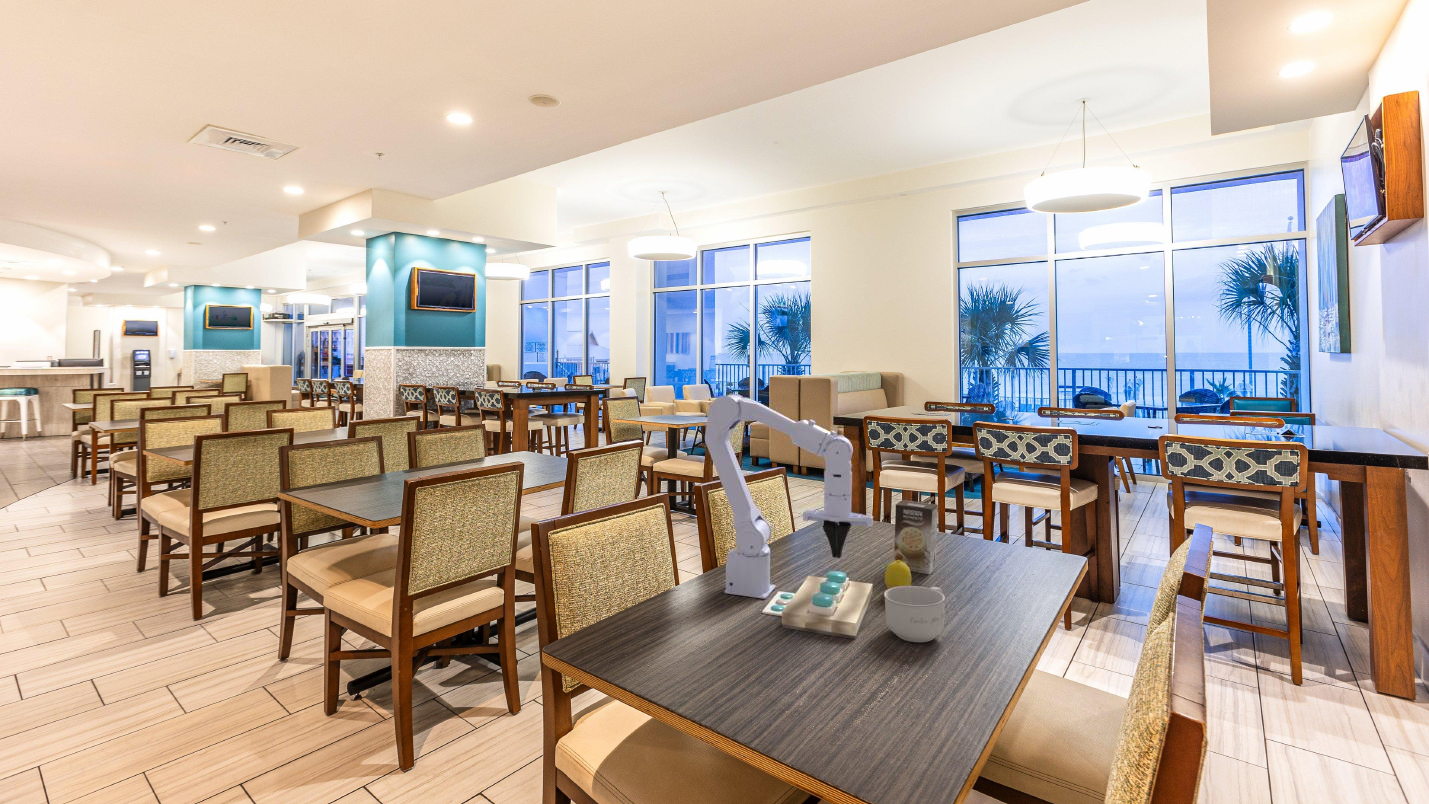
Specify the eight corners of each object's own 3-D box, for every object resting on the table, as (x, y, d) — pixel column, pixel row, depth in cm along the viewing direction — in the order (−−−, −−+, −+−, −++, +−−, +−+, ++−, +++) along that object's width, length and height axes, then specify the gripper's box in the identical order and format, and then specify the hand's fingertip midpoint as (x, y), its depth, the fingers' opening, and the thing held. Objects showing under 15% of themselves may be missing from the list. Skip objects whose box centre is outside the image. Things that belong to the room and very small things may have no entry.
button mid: (816, 602, 127) (817, 587, 127) (821, 595, 131) (821, 580, 131) (838, 605, 125) (838, 590, 125) (842, 598, 129) (842, 583, 129)
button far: (824, 591, 133) (824, 576, 133) (828, 584, 138) (828, 569, 137) (844, 593, 132) (845, 578, 132) (848, 586, 136) (848, 572, 136)
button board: (781, 627, 121) (781, 611, 121) (808, 588, 141) (808, 575, 141) (855, 639, 116) (855, 623, 115) (872, 597, 136) (872, 583, 136)
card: (762, 613, 127) (762, 610, 127) (778, 593, 139) (778, 590, 138) (786, 616, 126) (786, 614, 126) (800, 596, 137) (801, 593, 137)
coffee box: (892, 568, 155) (893, 504, 154) (899, 561, 161) (901, 499, 160) (930, 575, 150) (932, 508, 149) (937, 567, 156) (938, 503, 155)
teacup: (913, 653, 110) (914, 609, 109) (871, 630, 120) (871, 589, 119) (969, 637, 116) (970, 595, 116) (924, 616, 126) (925, 577, 125)
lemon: (912, 601, 134) (913, 564, 133) (885, 599, 135) (886, 563, 134) (909, 592, 139) (910, 556, 138) (883, 590, 140) (884, 555, 140)
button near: (808, 615, 120) (808, 599, 120) (813, 607, 125) (814, 591, 124) (831, 619, 119) (831, 602, 119) (836, 610, 123) (836, 594, 123)
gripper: (799, 494, 132) (799, 557, 133) (870, 500, 127) (868, 566, 128) (807, 488, 139) (806, 548, 140) (874, 493, 133) (873, 556, 134)
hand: (836, 556), depth 134 cm, fingers closed
